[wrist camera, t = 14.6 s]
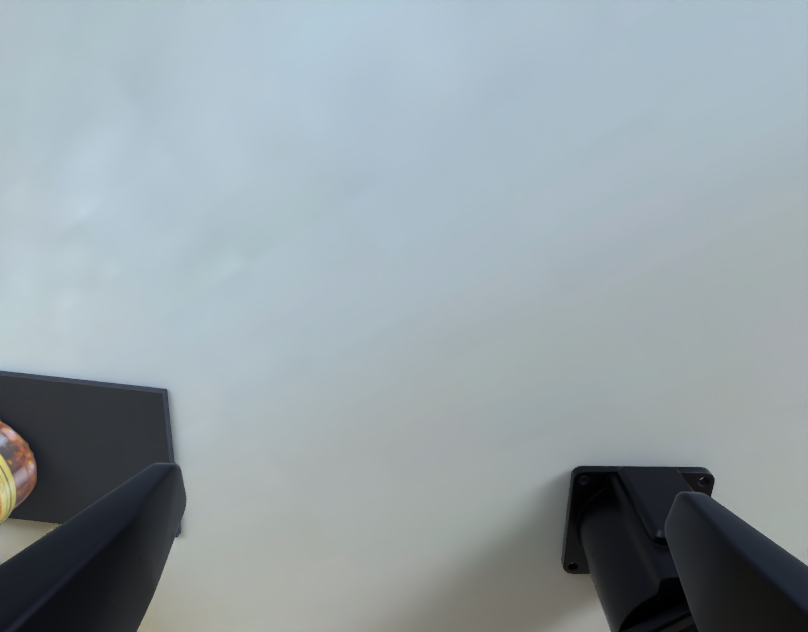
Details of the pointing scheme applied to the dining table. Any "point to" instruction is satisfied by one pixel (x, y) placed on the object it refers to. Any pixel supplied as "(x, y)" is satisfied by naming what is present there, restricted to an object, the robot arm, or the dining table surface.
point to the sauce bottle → (14, 470)
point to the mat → (83, 438)
